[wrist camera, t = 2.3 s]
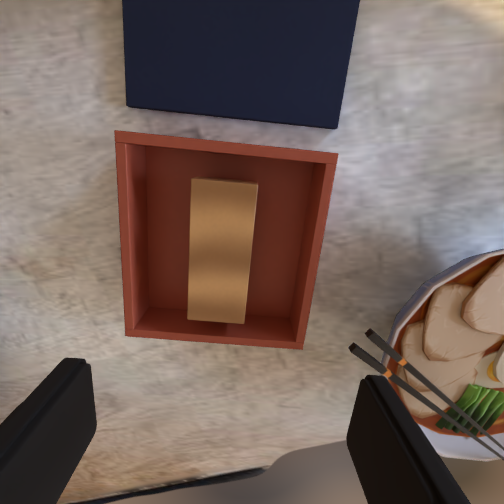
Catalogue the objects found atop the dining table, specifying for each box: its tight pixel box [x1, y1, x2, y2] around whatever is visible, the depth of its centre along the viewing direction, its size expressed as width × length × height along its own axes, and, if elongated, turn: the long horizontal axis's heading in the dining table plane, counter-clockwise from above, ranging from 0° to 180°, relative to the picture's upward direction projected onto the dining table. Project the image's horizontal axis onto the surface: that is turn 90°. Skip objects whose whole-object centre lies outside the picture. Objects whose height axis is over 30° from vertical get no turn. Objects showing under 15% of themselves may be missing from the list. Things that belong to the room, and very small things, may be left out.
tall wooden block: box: [187, 176, 258, 324], centre depth 25 cm, size 12×5×5 cm, turn 175°
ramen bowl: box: [349, 249, 504, 461], centre depth 27 cm, size 25×23×8 cm
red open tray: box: [114, 130, 338, 350], centre depth 26 cm, size 18×17×5 cm
